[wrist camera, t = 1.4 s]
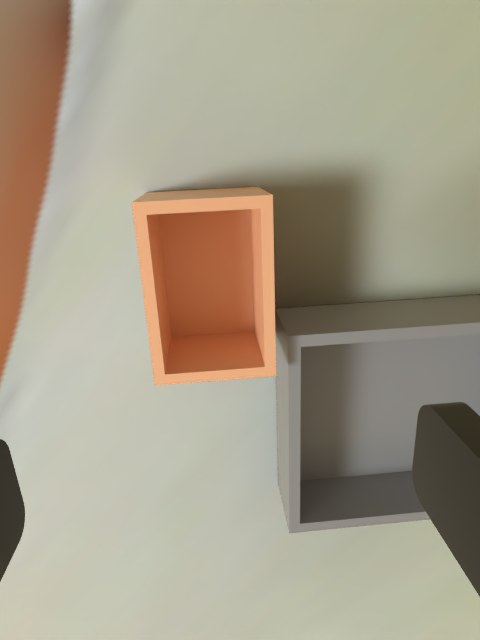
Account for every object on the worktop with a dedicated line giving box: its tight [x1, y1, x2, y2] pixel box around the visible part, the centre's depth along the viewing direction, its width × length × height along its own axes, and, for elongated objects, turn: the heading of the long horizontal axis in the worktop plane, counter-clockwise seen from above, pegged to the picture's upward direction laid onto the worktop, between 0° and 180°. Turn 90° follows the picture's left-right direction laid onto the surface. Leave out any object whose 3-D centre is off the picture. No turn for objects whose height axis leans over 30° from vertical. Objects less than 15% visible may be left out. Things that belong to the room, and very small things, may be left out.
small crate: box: [132, 187, 276, 385], centre depth 21 cm, size 8×6×5 cm
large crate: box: [275, 295, 480, 533], centre depth 25 cm, size 12×14×4 cm
